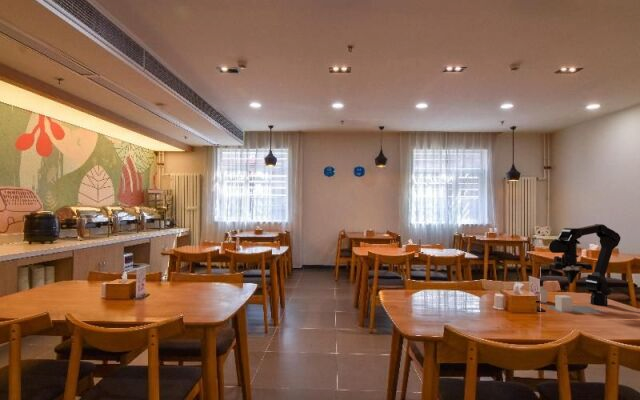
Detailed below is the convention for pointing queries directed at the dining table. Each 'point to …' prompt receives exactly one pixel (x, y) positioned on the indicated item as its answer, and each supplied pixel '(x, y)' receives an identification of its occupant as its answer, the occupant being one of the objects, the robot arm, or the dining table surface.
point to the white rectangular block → (563, 303)
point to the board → (577, 309)
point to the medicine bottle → (543, 292)
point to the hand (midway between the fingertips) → (570, 283)
